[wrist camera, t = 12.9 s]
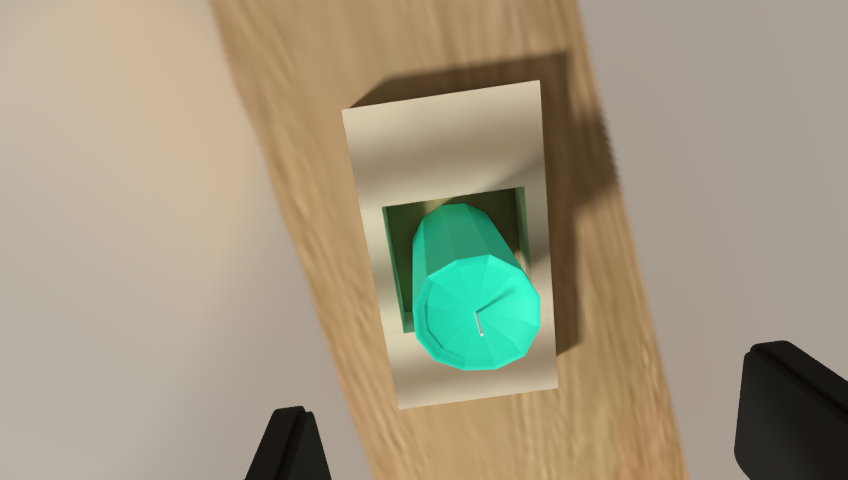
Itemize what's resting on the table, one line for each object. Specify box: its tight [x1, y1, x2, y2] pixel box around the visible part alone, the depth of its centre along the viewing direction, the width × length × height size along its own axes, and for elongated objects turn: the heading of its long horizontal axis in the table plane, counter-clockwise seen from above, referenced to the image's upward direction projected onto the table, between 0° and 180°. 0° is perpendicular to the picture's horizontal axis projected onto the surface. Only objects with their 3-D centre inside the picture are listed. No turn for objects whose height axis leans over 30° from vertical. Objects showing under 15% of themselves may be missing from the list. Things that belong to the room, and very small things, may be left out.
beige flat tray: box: [341, 80, 558, 409], centre depth 29 cm, size 20×11×3 cm, turn 8°
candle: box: [413, 203, 540, 370], centre depth 25 cm, size 6×6×12 cm
